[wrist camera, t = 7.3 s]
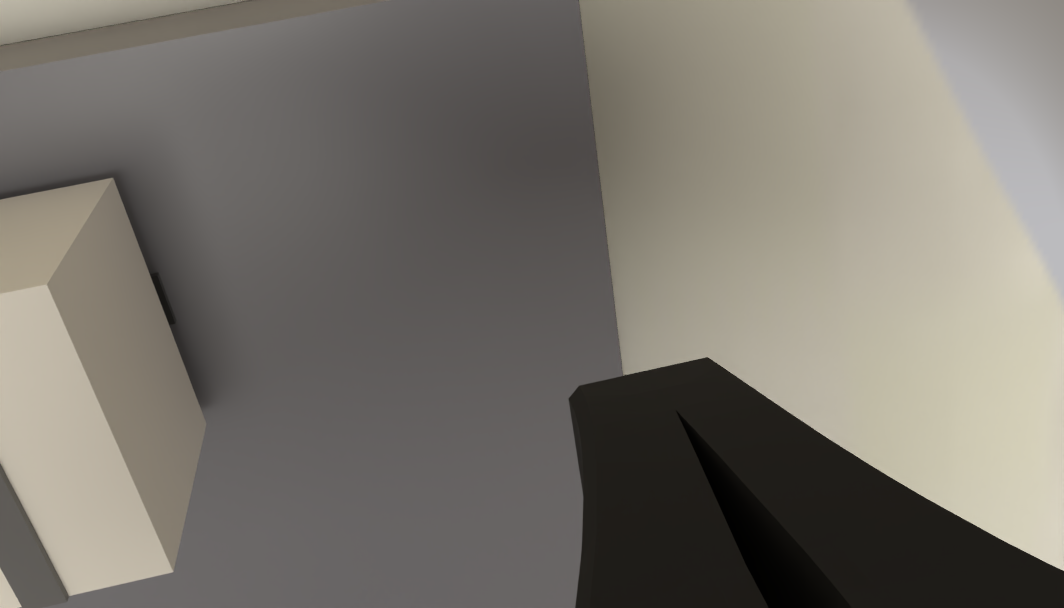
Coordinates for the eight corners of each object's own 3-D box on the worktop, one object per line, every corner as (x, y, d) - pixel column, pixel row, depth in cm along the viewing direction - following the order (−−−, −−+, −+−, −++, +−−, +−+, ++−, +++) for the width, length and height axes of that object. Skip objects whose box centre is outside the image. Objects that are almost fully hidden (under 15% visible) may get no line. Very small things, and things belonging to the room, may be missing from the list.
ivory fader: (206, 423, 14) (172, 577, 12) (3, 467, 14) (-83, 637, 11) (113, 178, 13) (43, 289, 10) (-124, 222, 12) (-267, 351, 9)
